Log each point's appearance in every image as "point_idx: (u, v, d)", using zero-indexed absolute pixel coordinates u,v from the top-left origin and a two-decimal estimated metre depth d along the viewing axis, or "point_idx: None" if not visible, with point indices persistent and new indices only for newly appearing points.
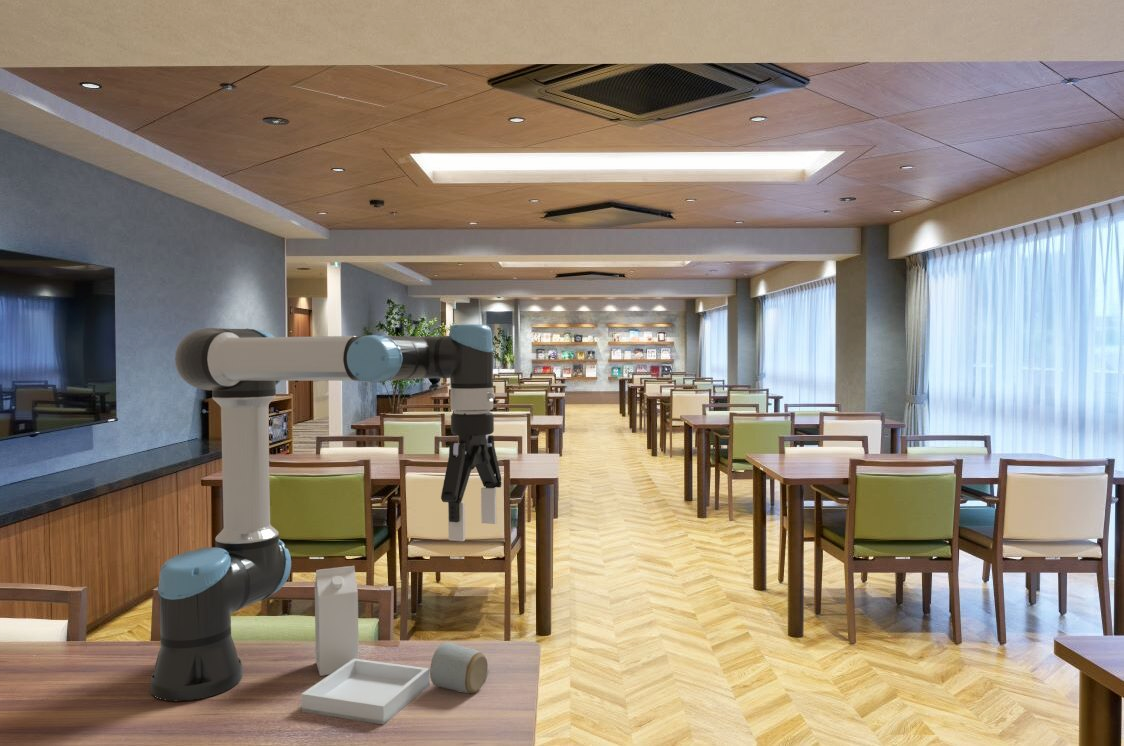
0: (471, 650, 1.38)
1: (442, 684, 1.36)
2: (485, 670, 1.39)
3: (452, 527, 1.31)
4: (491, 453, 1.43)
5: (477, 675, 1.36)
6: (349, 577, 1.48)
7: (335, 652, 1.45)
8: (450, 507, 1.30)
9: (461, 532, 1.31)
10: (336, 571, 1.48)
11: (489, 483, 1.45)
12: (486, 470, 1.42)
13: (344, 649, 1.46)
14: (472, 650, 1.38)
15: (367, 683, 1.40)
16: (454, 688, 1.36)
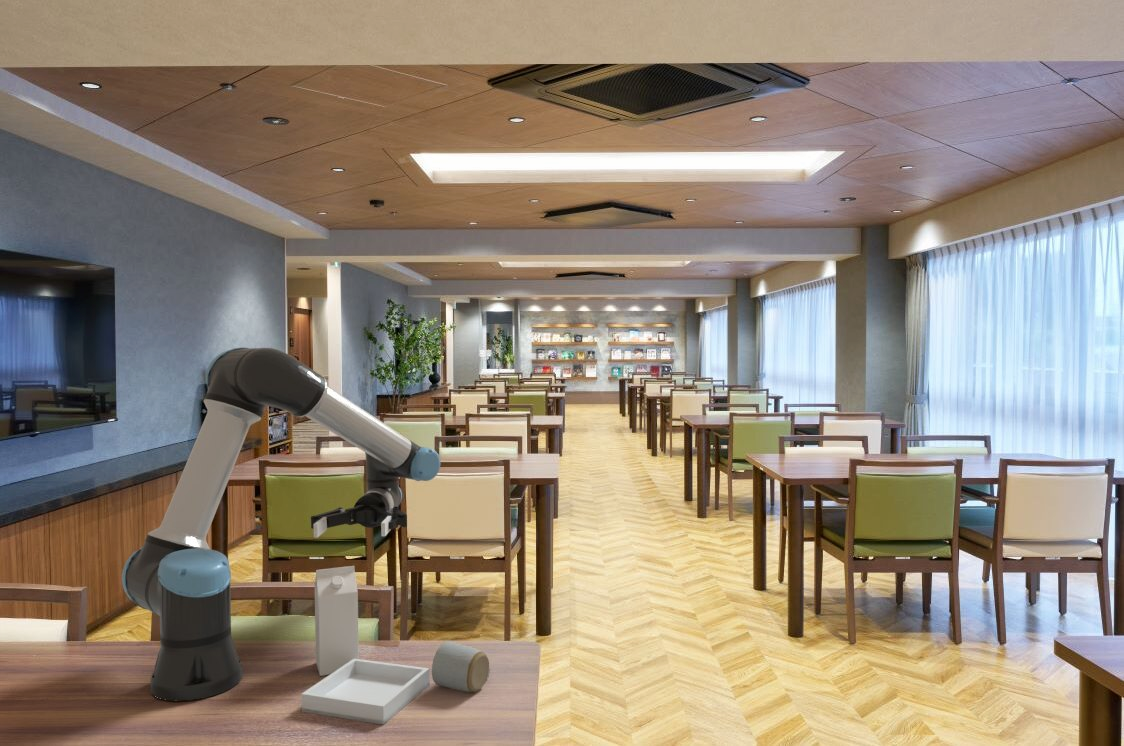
0: (473, 649, 1.38)
1: (444, 683, 1.37)
2: (487, 669, 1.39)
3: (387, 523, 1.59)
4: None
5: (479, 674, 1.37)
6: (348, 577, 1.48)
7: (335, 652, 1.45)
8: (396, 521, 1.63)
9: (386, 533, 1.58)
10: (336, 571, 1.48)
11: None
12: (341, 522, 1.67)
13: (344, 649, 1.46)
14: (474, 649, 1.38)
15: (367, 683, 1.40)
16: (456, 687, 1.36)
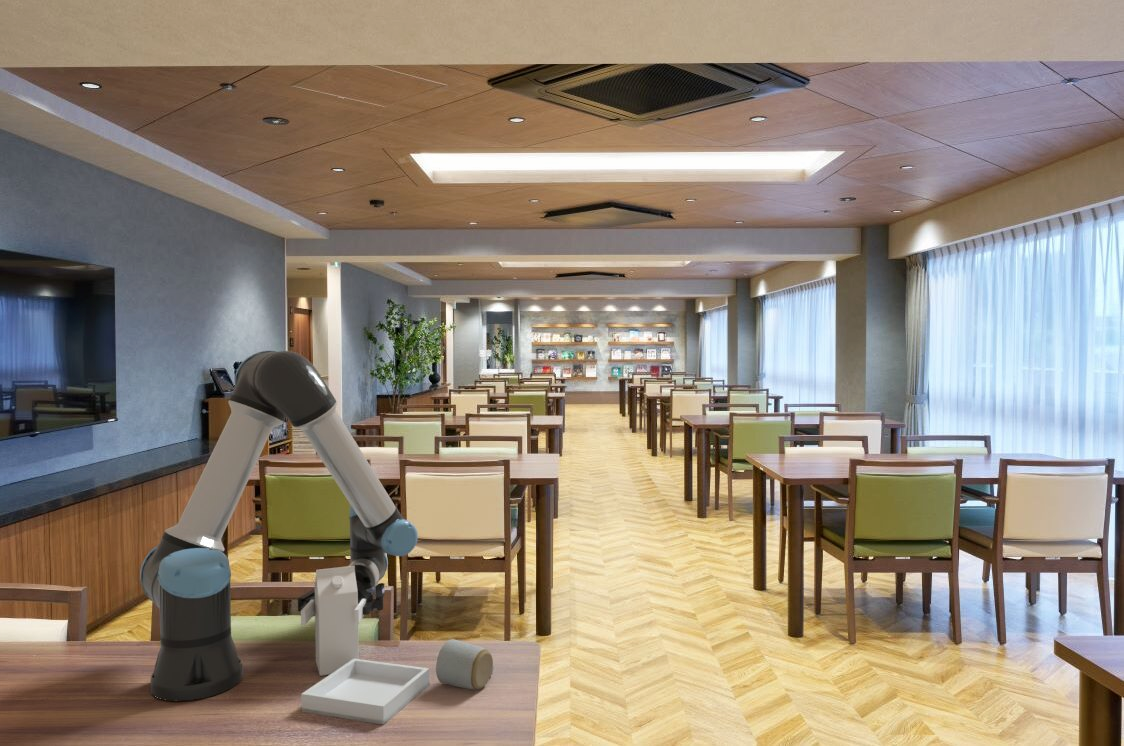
0: (477, 647, 1.39)
1: (448, 681, 1.38)
2: (490, 667, 1.40)
3: (361, 609, 1.46)
4: None
5: (483, 672, 1.38)
6: (348, 577, 1.48)
7: (335, 652, 1.45)
8: (371, 604, 1.50)
9: (360, 620, 1.46)
10: (336, 571, 1.48)
11: None
12: None
13: (344, 649, 1.46)
14: (477, 647, 1.39)
15: (367, 683, 1.40)
16: (460, 685, 1.37)
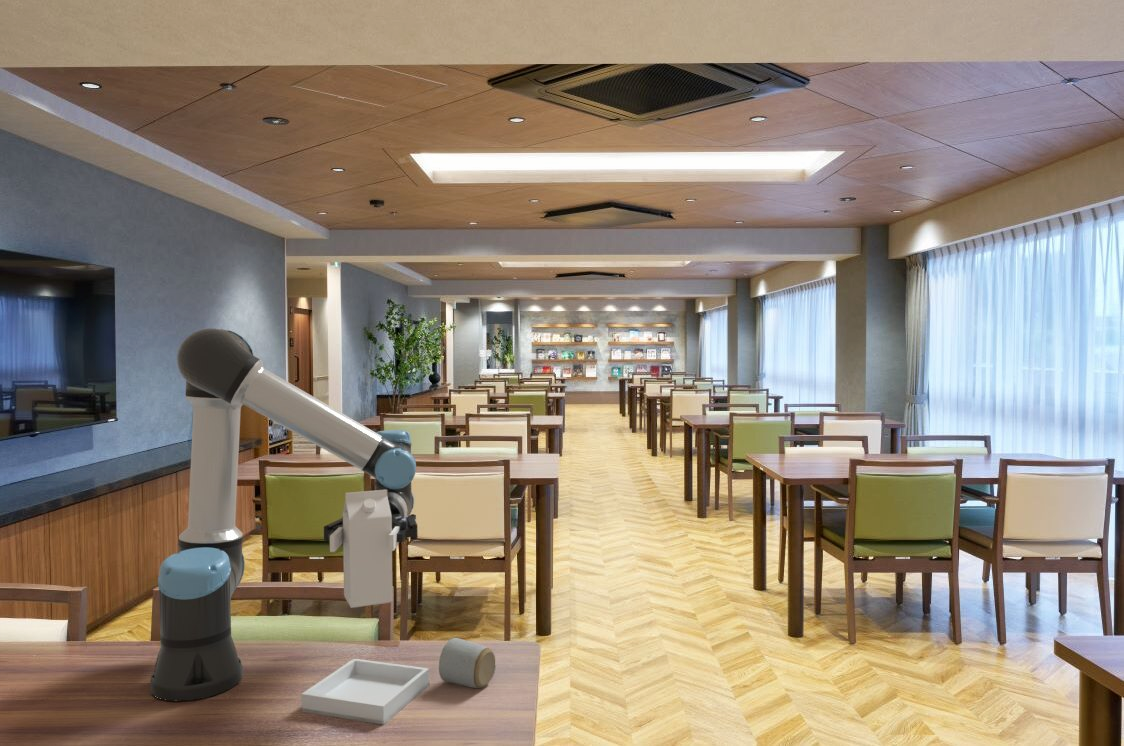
0: (479, 646, 1.40)
1: (451, 679, 1.38)
2: (493, 665, 1.41)
3: (395, 535, 1.33)
4: None
5: (485, 670, 1.38)
6: (381, 501, 1.35)
7: (367, 582, 1.32)
8: (405, 532, 1.37)
9: (395, 547, 1.32)
10: (367, 495, 1.35)
11: None
12: None
13: (377, 579, 1.32)
14: (480, 646, 1.40)
15: (367, 683, 1.40)
16: (463, 683, 1.38)
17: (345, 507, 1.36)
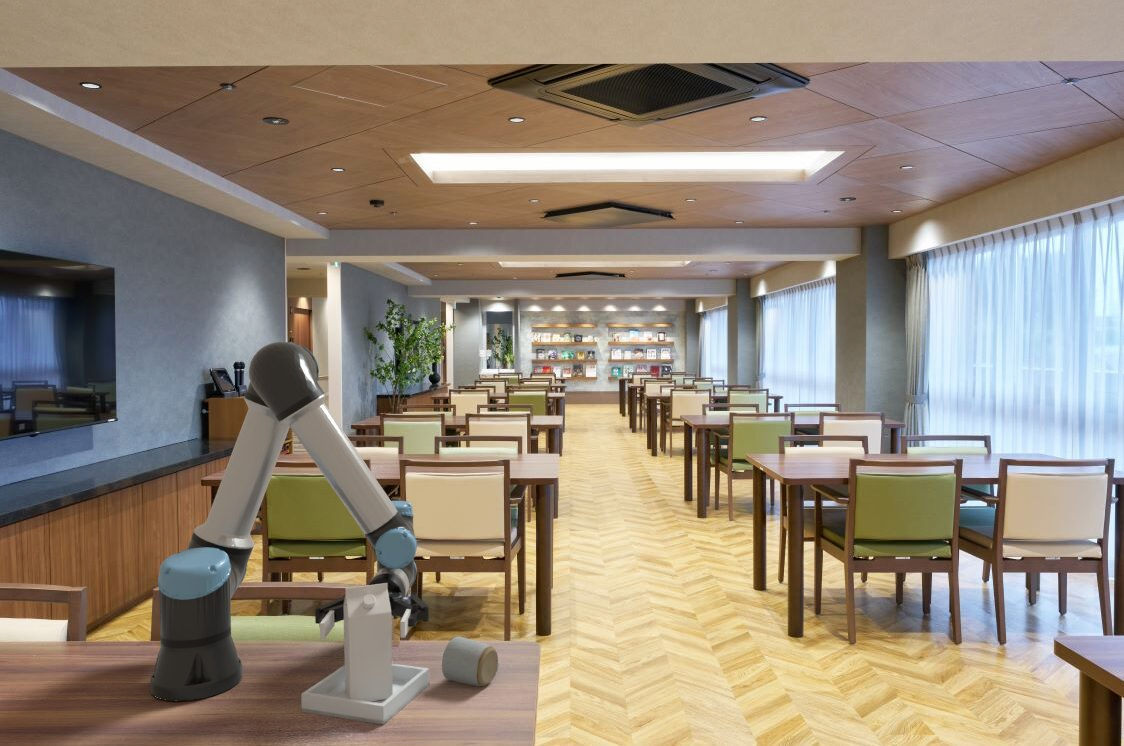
0: (482, 644, 1.40)
1: (454, 677, 1.39)
2: (496, 664, 1.41)
3: (407, 621, 1.34)
4: None
5: (488, 669, 1.39)
6: (381, 596, 1.35)
7: (367, 678, 1.32)
8: (417, 615, 1.38)
9: (406, 633, 1.33)
10: (367, 589, 1.35)
11: None
12: None
13: (376, 675, 1.32)
14: (483, 644, 1.40)
15: None
16: (466, 681, 1.38)
17: (345, 601, 1.35)
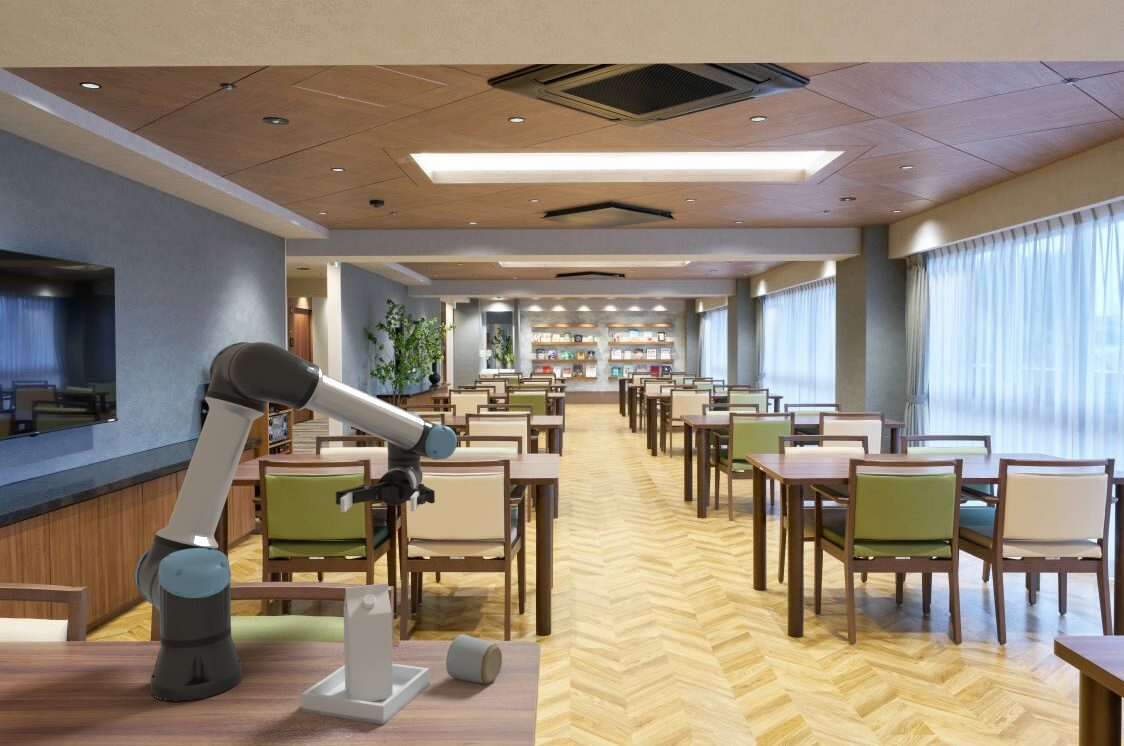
0: (486, 642, 1.41)
1: (458, 675, 1.40)
2: (499, 661, 1.42)
3: (416, 498, 1.55)
4: None
5: (492, 666, 1.40)
6: (381, 596, 1.35)
7: (367, 678, 1.32)
8: (424, 496, 1.59)
9: (415, 508, 1.55)
10: (367, 589, 1.35)
11: None
12: (366, 499, 1.63)
13: (376, 675, 1.32)
14: (487, 642, 1.42)
15: None
16: (470, 679, 1.39)
17: (346, 601, 1.35)
